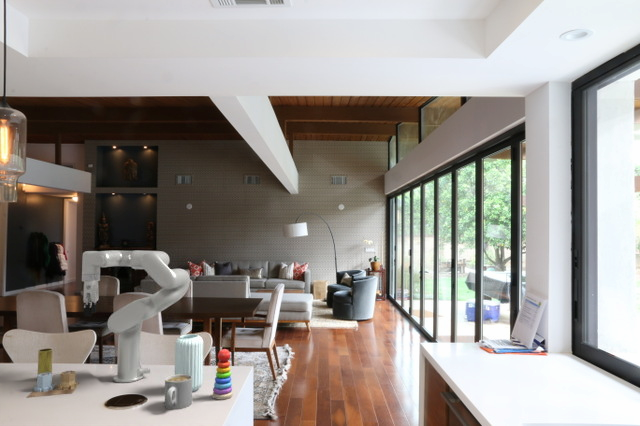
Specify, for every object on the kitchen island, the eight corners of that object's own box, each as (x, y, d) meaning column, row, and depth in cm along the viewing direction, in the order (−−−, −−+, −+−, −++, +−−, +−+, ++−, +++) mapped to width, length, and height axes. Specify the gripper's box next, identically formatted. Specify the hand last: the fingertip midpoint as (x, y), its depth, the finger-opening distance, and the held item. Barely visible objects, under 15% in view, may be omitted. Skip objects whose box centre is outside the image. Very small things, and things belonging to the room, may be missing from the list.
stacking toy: (222, 401, 174) (223, 353, 175) (208, 397, 178) (208, 350, 180) (236, 395, 181) (237, 348, 182) (222, 392, 185) (222, 346, 186)
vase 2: (194, 395, 182) (195, 339, 183) (169, 393, 184) (170, 338, 185) (207, 385, 193) (208, 333, 194) (182, 384, 195) (183, 332, 196)
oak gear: (78, 383, 191) (79, 369, 191) (75, 389, 184) (75, 374, 185) (60, 385, 189) (60, 370, 189) (56, 390, 182) (56, 375, 183)
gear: (52, 385, 189) (53, 370, 189) (55, 389, 184) (56, 374, 184) (33, 388, 185) (33, 374, 185) (35, 393, 179) (36, 378, 180)
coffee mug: (175, 398, 178) (175, 373, 178) (196, 401, 175) (197, 375, 175) (152, 411, 165) (153, 383, 165) (175, 414, 162) (176, 386, 162)
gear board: (79, 386, 192) (80, 368, 193) (71, 397, 179) (72, 378, 179) (37, 389, 188) (37, 371, 188) (26, 401, 174) (26, 382, 175)
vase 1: (44, 385, 194) (45, 351, 194) (32, 384, 195) (33, 351, 196) (55, 380, 200) (56, 348, 200) (43, 379, 201) (45, 347, 202)
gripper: (96, 279, 200) (95, 317, 199) (103, 275, 217) (102, 311, 216) (77, 279, 198) (76, 318, 197) (85, 276, 215) (84, 312, 214)
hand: (89, 314), depth 207 cm, fingers open, 9 cm apart
